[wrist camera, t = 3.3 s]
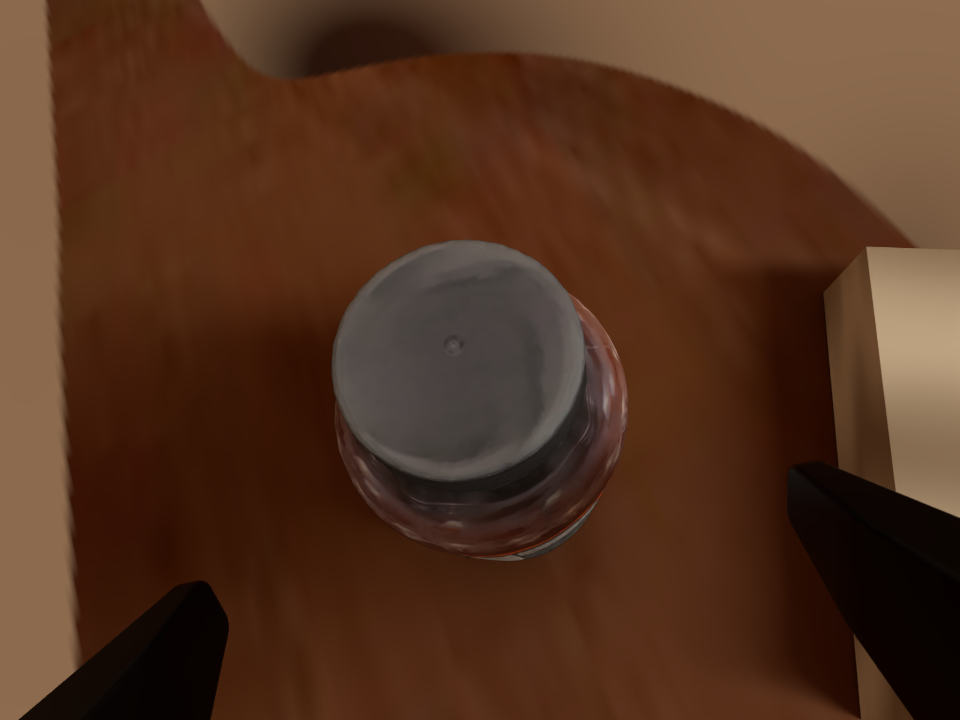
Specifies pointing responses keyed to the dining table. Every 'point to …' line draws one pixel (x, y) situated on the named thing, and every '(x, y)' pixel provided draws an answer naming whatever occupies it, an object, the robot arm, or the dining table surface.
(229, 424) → the dining table surface
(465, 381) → the supplement bottle
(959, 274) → the cream square shallow tray
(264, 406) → the dining table surface
